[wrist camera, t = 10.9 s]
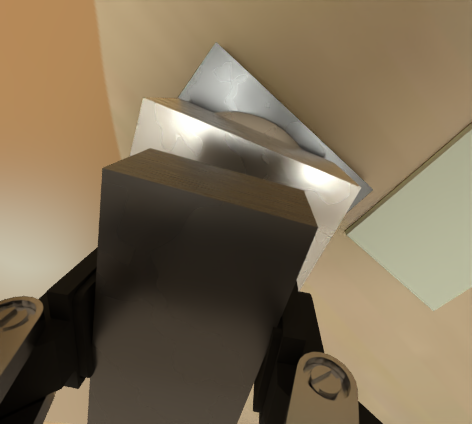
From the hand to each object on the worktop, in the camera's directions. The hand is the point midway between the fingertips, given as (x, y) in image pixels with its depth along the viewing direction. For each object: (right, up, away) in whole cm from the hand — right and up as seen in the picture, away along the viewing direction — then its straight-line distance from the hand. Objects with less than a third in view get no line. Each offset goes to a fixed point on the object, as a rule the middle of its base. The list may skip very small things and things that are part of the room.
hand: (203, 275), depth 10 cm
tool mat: (+17, +2, +10) cm, 20 cm away
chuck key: (+1, +2, +6) cm, 6 cm away
